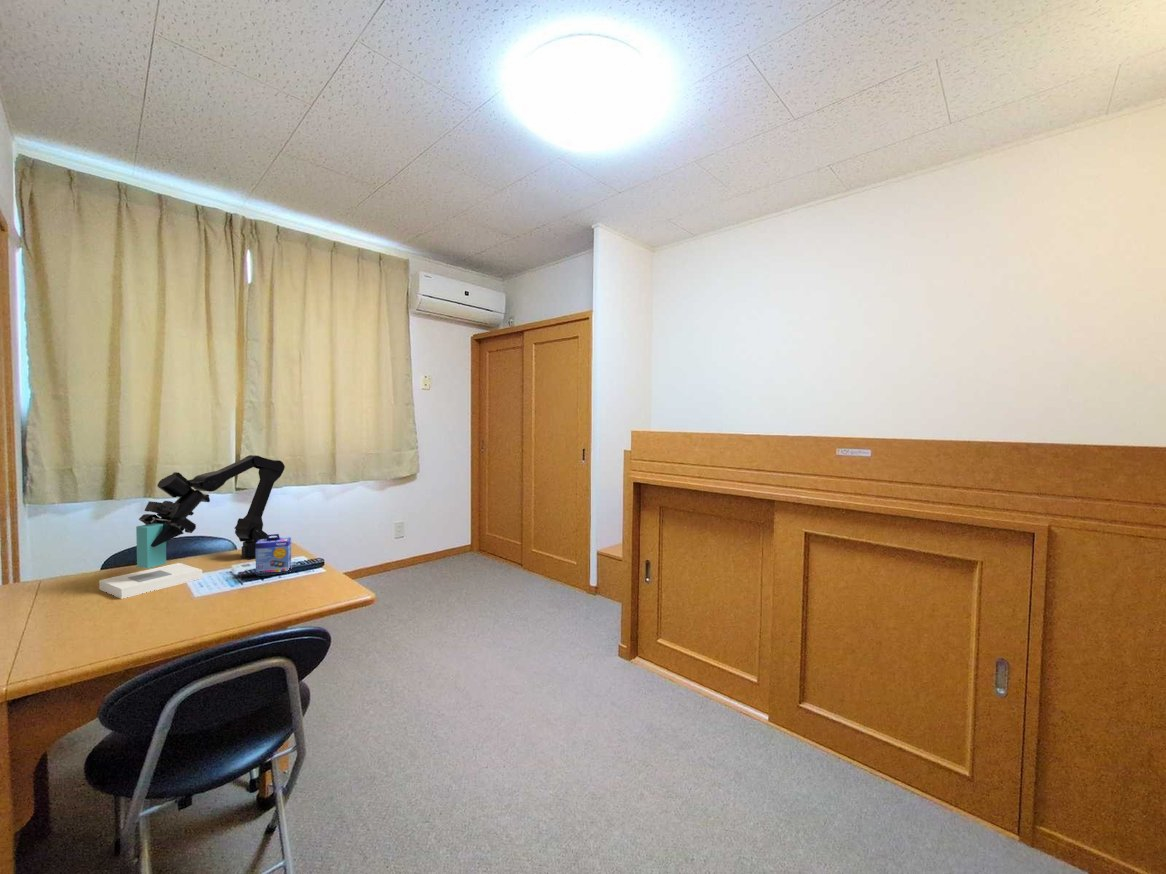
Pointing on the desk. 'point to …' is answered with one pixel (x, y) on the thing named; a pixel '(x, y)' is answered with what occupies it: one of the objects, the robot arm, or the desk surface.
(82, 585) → the desk surface
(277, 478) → the robot arm
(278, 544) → the ink cartridge box
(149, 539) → the teal block
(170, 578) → the base plate
